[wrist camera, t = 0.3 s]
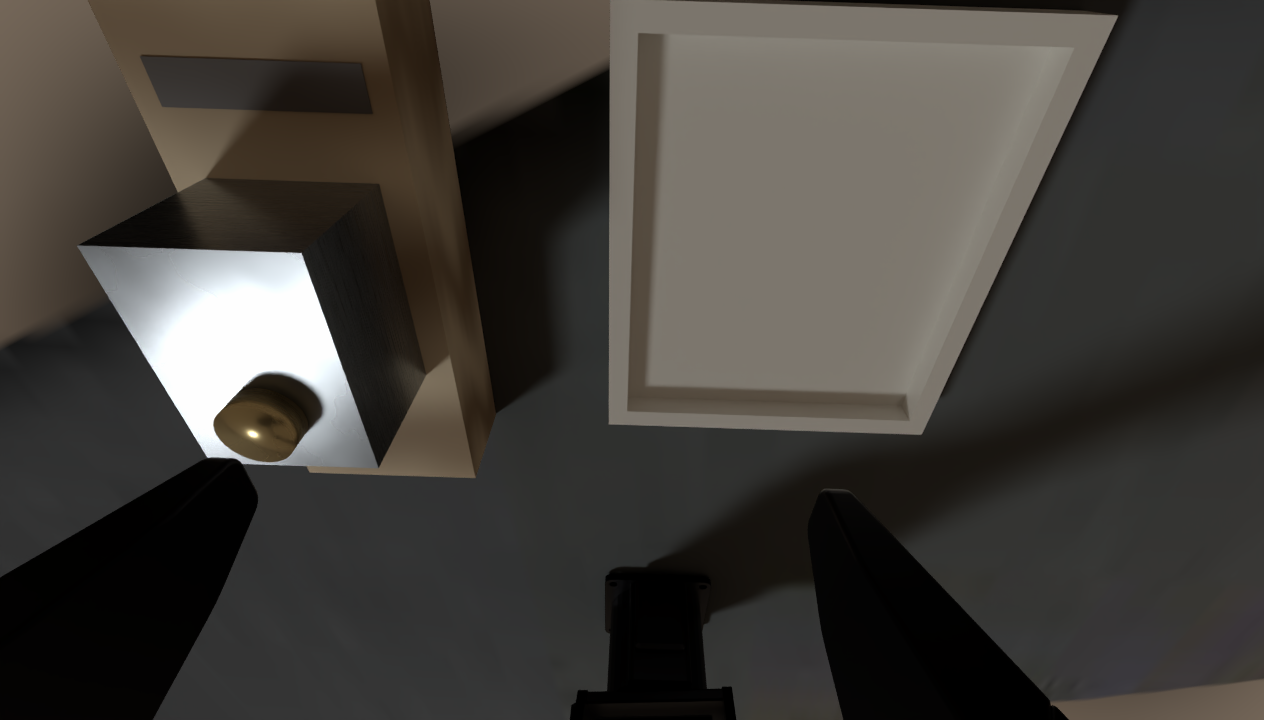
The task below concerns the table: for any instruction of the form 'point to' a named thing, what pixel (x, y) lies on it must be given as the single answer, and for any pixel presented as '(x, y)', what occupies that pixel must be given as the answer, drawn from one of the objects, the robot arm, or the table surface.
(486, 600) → the table surface
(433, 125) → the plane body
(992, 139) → the parts tray
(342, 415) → the dark grey block
